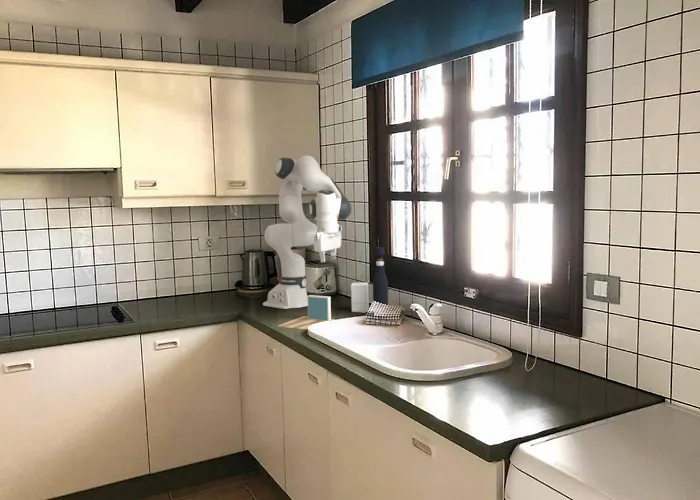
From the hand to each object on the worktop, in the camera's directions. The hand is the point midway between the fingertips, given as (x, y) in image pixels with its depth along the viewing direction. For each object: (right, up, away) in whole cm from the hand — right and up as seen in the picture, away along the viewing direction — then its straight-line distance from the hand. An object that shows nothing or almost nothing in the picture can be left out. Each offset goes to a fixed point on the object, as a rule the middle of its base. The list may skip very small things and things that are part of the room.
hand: (328, 260), depth 276 cm
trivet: (-7, -26, -10) cm, 29 cm away
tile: (-4, -25, -4) cm, 25 cm away
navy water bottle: (+23, -24, +3) cm, 33 cm away
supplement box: (+14, -23, +14) cm, 30 cm away
